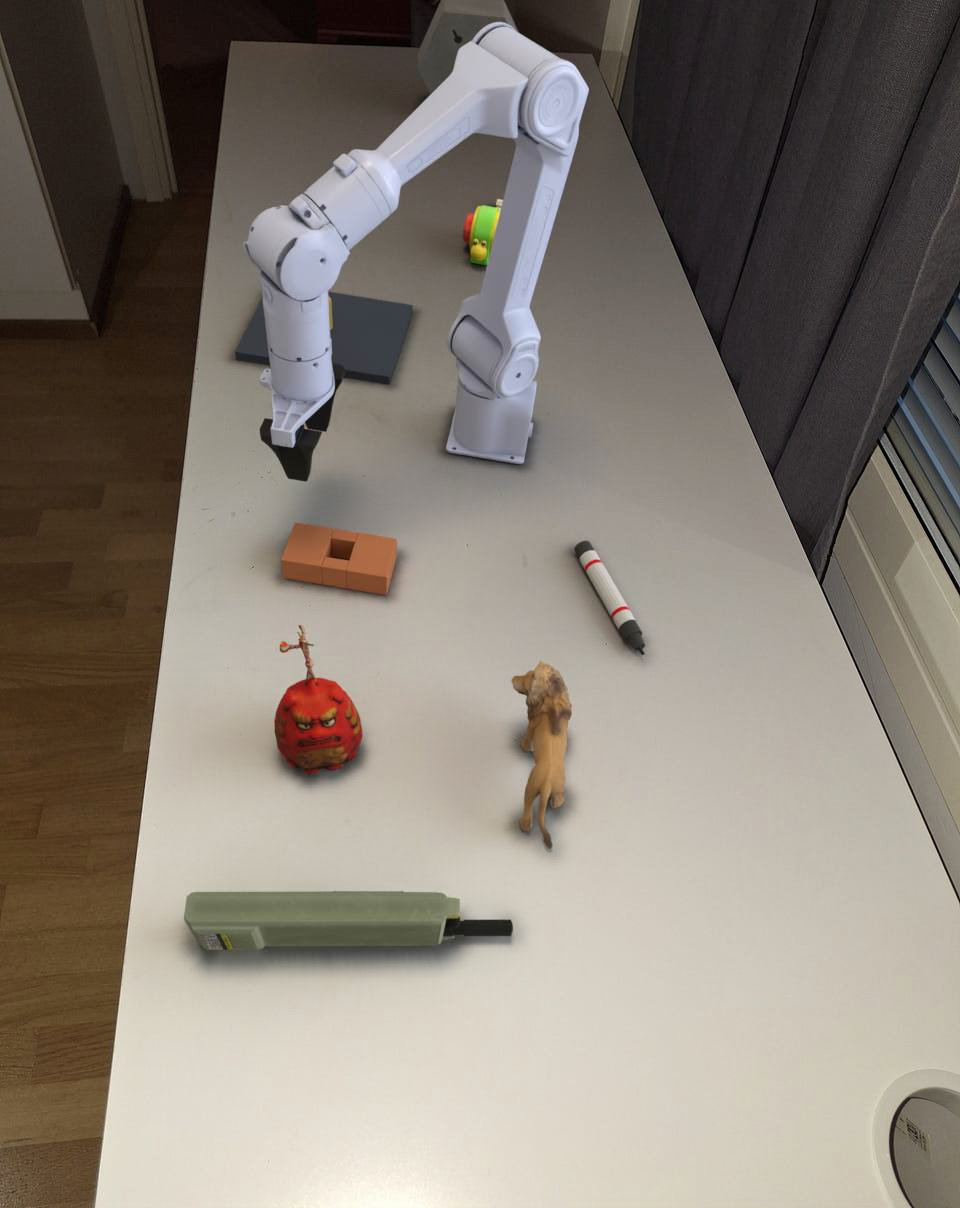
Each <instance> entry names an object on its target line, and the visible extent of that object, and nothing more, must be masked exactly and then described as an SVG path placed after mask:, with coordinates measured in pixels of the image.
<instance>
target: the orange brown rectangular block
mask: <svg viewBox="0 0 960 1208" xmlns="http://www.w3.org/2000/svg"><path fill="white" fill-rule="evenodd" d="M397 547H398V539H397V538H394V537H389V536H382V535H376V534H369V533H364V532H358V531H350V530H346V529H345V530H344V529H338V528H334V527H333V528H332V527H327V526H321V525H314V524H309V523H303V522H297V521H295V522H294V523H293V526H292V529H291V532H290V534H289V537H288V540H287V542H286V545H285V548H284V550H283V553H282V556H281V558H280V562H281V570H282V577H283V579H288V580H293V581H300V582H305V583H310V584H317V585H324V586H330V587H334V588H335V587H336V588H342V589H347V590H353V591H358V592H365V593H371V594H377V595H384V596H387V595H388V591H389V589H390V585H391V581H392V576H393V572H394V569H395V565H396V561H397V556H398V555H397V553H398V548H397Z"/></svg>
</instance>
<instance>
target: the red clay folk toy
mask: <svg viewBox="0 0 960 1208" xmlns="http://www.w3.org/2000/svg"><path fill="white" fill-rule="evenodd" d="M298 628H299V630H300V631H301V633H300V631H297V632H296V633H297V635H298V636H299V638H298V639H297V640H298V644H288V643H287V642H286V641H285V640H282V641H281V642H280V643H279V652H280V653H282V654H284V653H288V652H289V651H290V650H293V649H294V650H295V649H296V650H299V649H301V651H302V653H303V657H304V660H305V663H304V665H305V667H306V668H307V670H306V676H305V679H302V680H299V681H297V682H295V683H294V684H292V685H290V686H289V687H287V688H286V690H285V692H284V694H283V695H282V697H281V699H280V701H279V702H278V705H277V708H276V710H275V715H274V721H273V723H274V736H275V739H276V746H277V749H278V752H279V753H280V755H281V756H282V757H283V759H284V760H285V762H286V763H287V764H288V765H289V766H290V768H295V769H300V770H301V771H303V772H304V773H305V774H307V775H309V776H310V775H315V774H318V773H320V772H321V771H322V770H327V771H329V772H335V771H338V770H341V769H342V768H343V766H344V765H345V764H347V763H350V762H352V761H353V760H355V758H356V755H357V753H358V748H359V746H360V744H361V742H362V738H363V727H362V722H361V717H360V714H359V712H358V711H359V710H358V709H357V707H356V705H355V703H354V702H353V700H352V699H351V697H350V696H349V694H348V692H346V691H345V690H344V689H343V688H342V687H341V685H340V684H339V683H337V682H336V681H335V680H331V679H327V678H326V677H325V678H324V677H316V675H315V673H314V671H313V669H312V668H313V666H314V664H315V663H314V661H313V659H311V658H310V657H311V656H310V647H314V646H315V645H314V643H309V640H308V639H306V629H305V627H304V625H301V624H298ZM309 646H310V647H309Z"/></svg>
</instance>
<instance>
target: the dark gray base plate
mask: <svg viewBox="0 0 960 1208" xmlns="http://www.w3.org/2000/svg"><path fill="white" fill-rule="evenodd" d="M328 299H329V320H330V338H331V343H332V355H331V361H332V363H337V364H340V365H342V366H344V368H345V375H344V377H343V378H349V379H355V380H359V381H360V380H361V381H368V382H373V383H379V384H385V385H390V384H391V382H392V381H391V380H392V378H393V375H394V372H395V369H396V365H397V363H398V359H399V356H400V353H401V350H402V346H403V343H404V340H405V337H406V334H407V330H408V327H409V324H410V322H411V319H412V315H413V309H414V308H413V307H414V305H413V304H408V303H402V302H395V301H389V300H383V299H378V298H371V297H365V296H358V295H353V294H352V295H351V294H346V293H341V292H334V291H328ZM234 355H235V356H234V357H235V360H238V361H243V362H250V363H256V364H262V365H268V366H270V360H269V351H268V343H267V334H266V325H265V317H264V308H263V297H261V300H260V302H259V303H258V305H257V307H256V309H255V311H254V313H253V315H252V317H251V320H250V321H249V323H248V325H247V327H246V329H245V331H244V333H243V334H242V337H241V339H240V341H239V343H238V345H237V347H236V349H235V351H234Z"/></svg>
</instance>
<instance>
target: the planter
mask: <svg viewBox="0 0 960 1208" xmlns="http://www.w3.org/2000/svg"><path fill="white" fill-rule="evenodd" d="M437 6H438V7H437V8H436V11H435V13H434V15H433V18H432V19H431V22H430V24H429V26H428V29H427V31H426V33H425V34H424V38H423V39H422V43H421V45H420V47H419V49H418V51H417V67H416V68H417V69H416V71H417V74H418V75H419V77H420V79H421V80H422V81H421V82H422V83H423V85H424V86H425V88H426V90H427V91H428V94H429V96H430V95H431V94H432V93H433V92H434V91H435V90H436V89H437V88H438V87H439V86H440V85H441V84H442V83H443V82H444V81H445V80H446V79H447V78H448V77H449V76H450V75H451V73H452V71H453V69H454V65H455V60H456V56H457V53H458V50H459V49H460V48H461V47H462V46H464V45H465V44H467V43H469V42H470V41H472V40H473V38H474V37H475V36H476V34H477V33H478V32H479V31H480V30H481V29H483V28H484V27H485V26H487V25H489V24H491V23H494V22H503V23H506V24H508V25H510V26H512V27H513V28H514V29H515V30H516V31H517V32H518V33H520V32H519V30H518V28H517V26H516V24H515V21H514V19H513V17H512V15H511V13H510V11H509V9H508V5H507V3H506V1H505V0H440V2H439V3H438V5H437ZM454 32H455V33H456V35H457V37H461V41H460V42H456V41H455V39H456V36H455V33H454Z"/></svg>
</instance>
